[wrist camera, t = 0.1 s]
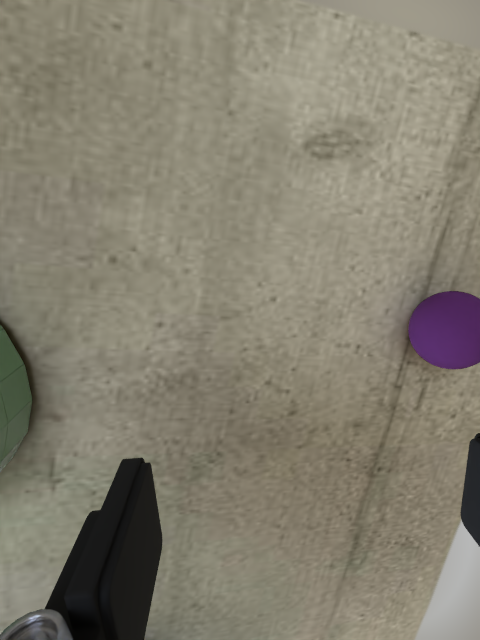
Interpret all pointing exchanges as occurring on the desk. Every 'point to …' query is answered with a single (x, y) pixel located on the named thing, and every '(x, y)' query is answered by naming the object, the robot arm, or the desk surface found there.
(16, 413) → the green bowl
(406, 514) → the desk surface
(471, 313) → the ball
